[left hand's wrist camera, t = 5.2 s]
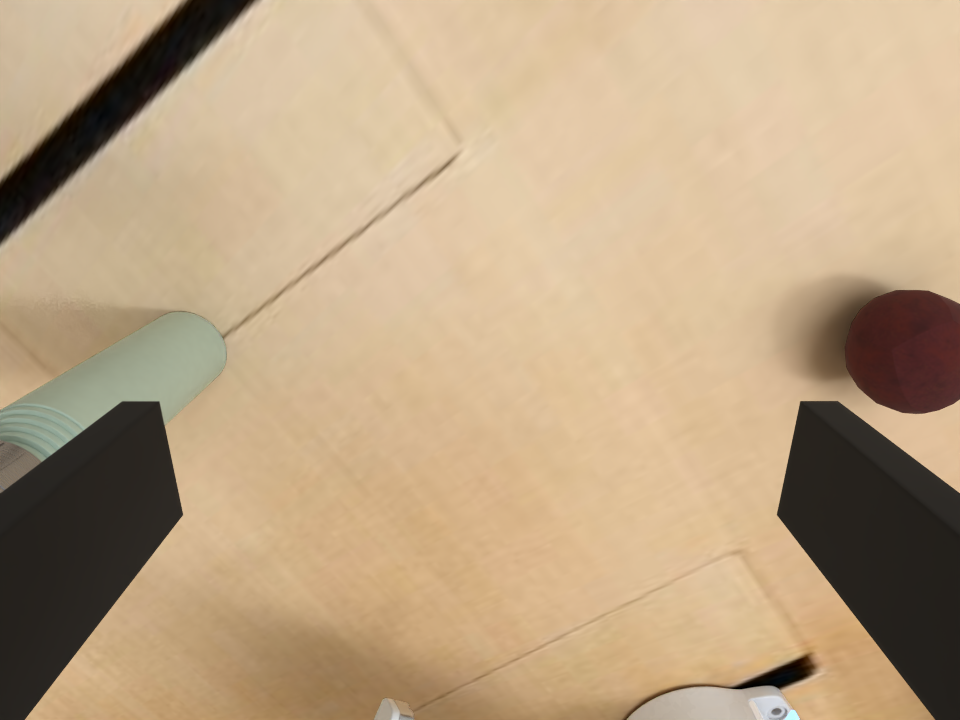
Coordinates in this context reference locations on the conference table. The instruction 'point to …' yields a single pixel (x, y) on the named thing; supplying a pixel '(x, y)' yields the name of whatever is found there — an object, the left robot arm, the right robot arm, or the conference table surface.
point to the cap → (14, 463)
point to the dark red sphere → (907, 351)
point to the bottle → (119, 382)
